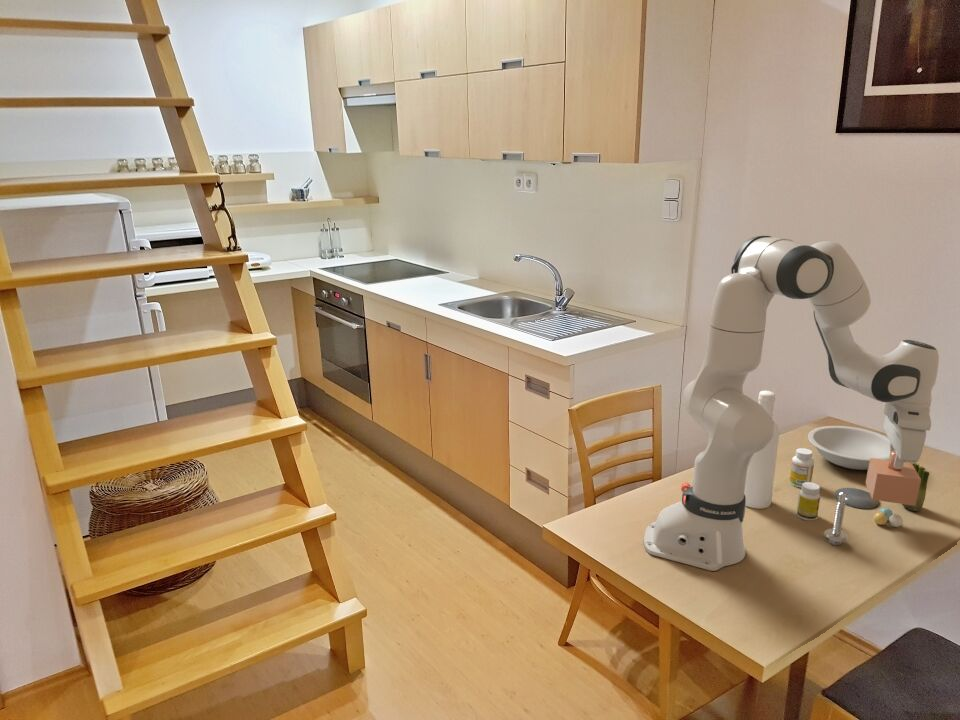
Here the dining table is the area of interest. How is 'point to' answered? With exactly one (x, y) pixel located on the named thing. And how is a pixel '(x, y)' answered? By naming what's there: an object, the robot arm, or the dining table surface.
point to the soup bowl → (850, 445)
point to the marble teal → (886, 512)
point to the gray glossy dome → (857, 498)
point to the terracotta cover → (892, 481)
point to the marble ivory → (895, 520)
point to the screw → (837, 523)
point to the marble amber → (880, 518)
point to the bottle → (762, 463)
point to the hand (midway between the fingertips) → (895, 463)
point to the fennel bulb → (922, 489)
